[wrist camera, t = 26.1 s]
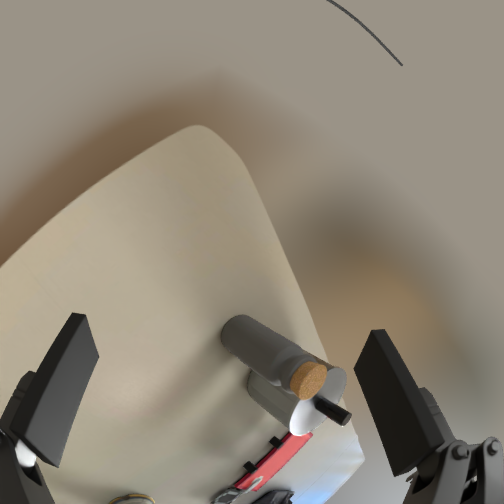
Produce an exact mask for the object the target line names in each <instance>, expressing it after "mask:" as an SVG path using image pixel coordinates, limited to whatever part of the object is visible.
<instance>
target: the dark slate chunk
mask: <svg viewBox="0 0 504 504" xmlns="http://www.w3.org/2000/svg"><path fill="white" fill-rule="evenodd" d="M294 493H295V492H293V491H287V490H286V491H282V490H273V491H271V492H270V493H268V494H266V495H265V496H264V497H262V498H261V499H259V500H258V501H256V502H254V503H253V504H292V502H291V500H290V498H291V497H292V496H293V495H294Z"/></svg>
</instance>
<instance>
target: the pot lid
mask: <svg viewBox="0 0 504 504" xmlns="http://www.w3.org/2000/svg"><path fill="white" fill-rule="evenodd" d="M346 379H347V377H346V372H345V371H344V370H343V369H342V368H340V367H331V368H329V369H327V376H326V379H325V382H324V384H323V385H322V387H321V388H320V390H319V391H318V392H317V393H316V394H315V395H314V396H313V397H311V398H310V399H307V400H300V399H299V398H298V399H297V400H296V402H295V404H294V405H293V407H292V410H291V412H290V414H289V418H288V429H289V431H290V432H291V433H292V434H293V435H297V436H300V435H304V434H307V433H309V432H311V431H312V430H314V429H315V428H317V427H318V426H319V425H320V424H321V423H323V422H324V421H325V420H326V419H327V417H328V418H330V419H331V420H333V421H334V422H336V423H338V424H339V425H341V426H344V425H346V424H347V423H348V421H349V420H350V418H351V416H352V414H351V413H349V412H348V411H346V410H345V409H343V408H341V407H340V406H338V405H337V404H338V402H339V401H340V399H341V397H342V394H343V392H344V389H345V386H346Z"/></svg>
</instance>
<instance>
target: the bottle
mask: <svg viewBox="0 0 504 504" xmlns="http://www.w3.org/2000/svg"><path fill="white" fill-rule="evenodd" d="M221 340H222V343H223V345H224V347H225V348H226V349H228V350H229V351H230V352H231V353H232V354H233V355H235V356H236V357H237V358H238V359H240V360H241V361H242V362H243V363H244V364H246V365H247V366H248V367H249V368H251V369H252V370H253V371H255V372H256V373H257V374H258V375H260V376H261V377H262V378H264V379H265V380H266V381H268V382H269V383H270V384H272V385H275V386H280V385H281V386H282V388H283V389H284V390H285V391H286V392H288V393H290V394H296V396H297V397H298V398H299V399H300V400H307V399H310V398H311V397H313V396H314V395H315V394H316V393H317V392H318V391H319V390H320V388H321V387H322V385H323V384H324V382H325V379H326V376H327V369H326V367H325V366H324V365H321V364H318V363H317V362H316V360H315V358H313V357H312V356H310V355H308V354H304V353H303V350H302V348H301V347H300V346H298V345H297V344H295V343H293V342H292V341H290V340H288V339H287V338H285V337H283V336H281V335H280V334H278V333H276V332H275V331H273V330H271V329H270V328H268V327H266V326H265V325H263V324H261V323H259V322H258V321H256V320H254V319H253V318H251V317H249V316H247V315H237V316H235V317H233V318H232V319H230V320H229V321H228V322H227V323H226V325H225V326H224V328H223V331H222V335H221Z"/></svg>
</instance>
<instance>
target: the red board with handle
mask: <svg viewBox="0 0 504 504" xmlns="http://www.w3.org/2000/svg"><path fill="white" fill-rule="evenodd" d="M312 436H313V434H312V433H311V432H309V433H307V434H304V435H300V436H297V435H293V434H292V433H291V432H289V433H288V434H287V435H286V437H285V438H284V439H283V440H282V441H280V440H279V439H278V438H276V437H275V436H274V437H273V438H272V439H271V440H270V441H269V442H270V443H271V444H272V445H273V446H274V447H275V448H274V449H273V450H272V451H271V452H270V453H269V454H268V455H267V456H266V457H265V458H264V459H263V460H262V461H261V462H260V463H258V464H257V465H256V466H254V465H253V464H252V463H251V462H250V461H248V462H247V463H246V464H245V465H244V466H243V467H244V468H245V469H246V470H247V471H248V472H249V473H248V474H247V475H245V476H244V477H243V478H242V479H241V480H240V481H239V482H237V483H236V484H235V485H234V486H235V487H236V488H239V489H240V490H241V491H240V490H235V489H230V488H228V489H227V490H226V491H225V492H223V493H222V494H221V495H220V496H218V497H217V498H216V499H215V500H213V501H212V502H211V503H210V504H230V503H231V502H233V501H234V500H235V499H236V498H237V497H239V496H240V495H241V494H242V493H248V492H249V491H257V490H258V489H260V488H261V487H262V486H263V485H264V484H265V483H266V482H267V481H268V480H270V479H271V478H272V477H273V476H274V475H275V474H276V473H277V472H278V471H279V470H280V469H281V468H282V467H283V466H284V465H285V464H286V463H287V462H288V461H289V460H290V459H291V458H292V457H293V456H294V455H295V454H296V453H297V452H298V451H299V450H300V449H301V448H302V447H303V446H304V445H305V443H306V442H307V441H308V440H309V439H310V438H311V437H312Z"/></svg>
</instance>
